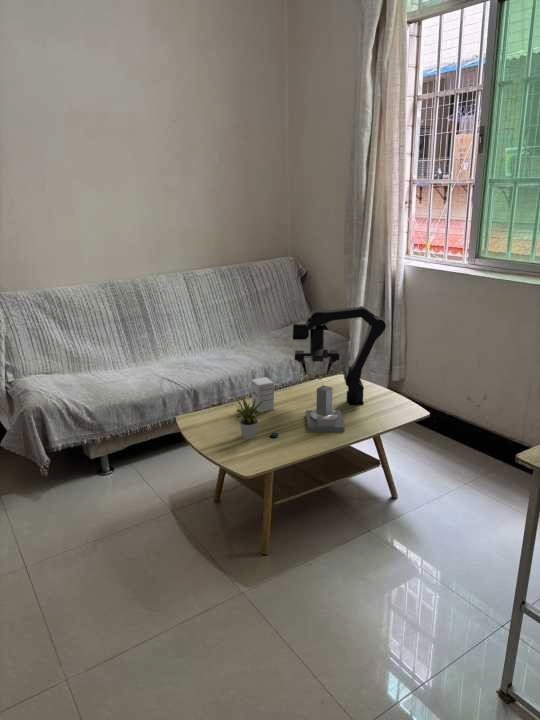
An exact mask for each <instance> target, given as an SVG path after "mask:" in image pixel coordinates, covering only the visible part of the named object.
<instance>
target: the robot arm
mask: <svg viewBox="0 0 540 720" xmlns="http://www.w3.org/2000/svg"><path fill="white" fill-rule="evenodd" d="M357 318H361V319H363V321H365V323H367V324H368V326H367V332H366V335H365V337H364V340H363V342H362V344H361V347H360V348H359V351H358V352H357V355H356V357H355V359H354V361H353V363H352V364H351V365H350V366H349V365H347V366H346V369H345V371H344V372H343V380H344V383H345V385H346V387H347V391H346V402H347V403H348V405H349V406H350V405H354V406H355V405H364V390H365V389H364V388H365V387H364V385H363V382H362V380H361V375H362V370H363V368H364V366H365V363H366V362H367V360H368V358H369V355H370V353H371V351H372V349H373V347H374V345H375V343H376V341H377V340H378V339H379V338H380V336H382V334H383V333H384V332H385V330H386V327H387V325H386V322H385V321H384V319H383V318H382V317H381V316H380V315H375V314H374V313H372V311H369V310H368V309H367V308H366V307H365V306H363V305H362V306H361V305H360V306H355V307H349V308H347V307H346V308H340V309H327V308H326V309H325V308H315V309H312V311H311V312H310V314H309V317H308V319H307V320H306V321H305V323H293V324H292V341H306V340H307V339H308V338H309V352H305V351H304V350H295V351H294V361H297V362H298V363H300V365H301V366H302V369H303V371H304V372H303V373H304V374H305V375H304V376H306V375H307V368H306V359H307V358H311V362H315V363H316V362H320V363H322V362H324V360H325V359H327V364H326V375H329V372H330V370H331V367H332V365H333V364H334V363H336V362H337V361H340V352H339V350H337V349H336V350H335V349H330V350H329V349H325V347H324V345H325V344H324V342H325V341H324V339H325V331H329V330H330V329H329V326H328V325H327V324H329V323H330V322H333V321H340V320H341V321H342V320H351V319H357ZM305 358H306V359H305Z"/></svg>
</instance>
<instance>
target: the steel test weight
mask: <svg viewBox="0 0 540 720" xmlns="http://www.w3.org/2000/svg"><path fill="white" fill-rule="evenodd" d="M333 388H334V387H331V386H328V385H324V384H323V385H321V386H319V387H316V408H315V409H316V414H318V415H321V416H328V415H330V414H331V413H332V409H333V390H334V389H333Z"/></svg>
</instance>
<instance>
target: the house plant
mask: <svg viewBox="0 0 540 720" xmlns="http://www.w3.org/2000/svg"><path fill="white" fill-rule="evenodd" d="M232 398H233V399H235V400H236V401H237V403H238V404H234V403H231V404H230V406H236V407H237V409H236V410H235V412H236V413H238V414H240V415H237V414H235V416H236V417H235V420H238V419H240V420H239V425H240V431H241V435H242V438H243V439H245V440H252V439H255V438H256V437H257V430H258V426H259V425H258V424H259V420H258V419H257V417H258V416H259V415H261V414H262V412H261V411H257V410H256V409H257V408H258V407H259V406H260V404H261V403H262V402H264V401H265V400H264V401H262V402H260V403H259V404H258V405H257V406H256V407H255V408H254V405H255V401H256V398H255V401H254V403H253V406H252V405H251V406H250V404H251V403H247V401H246V400H245V398H244V397H243V396H241V399H242V402H243V406H244V407H243V406H242V404H241V402H240V400H239V399H238V398H236V397H234V396H232ZM250 398H251V399H252V396H250V397H249V400H248V401H251V399H250ZM259 412H260V413H259ZM242 417H243V418H242Z"/></svg>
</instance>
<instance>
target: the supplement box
mask: <svg viewBox="0 0 540 720" xmlns="http://www.w3.org/2000/svg"><path fill="white" fill-rule="evenodd" d="M274 389H275V386H274V381H272V380H271V379H270V378H268V377H267V376H265V377H259V378H253V379H251V406H253V403H254V401H255V398H256V401H255V405H254V408H255V407H256V406H257V405H258V404H259V403H260V402H262V401H264V400H265V401H264V402H262V403H261V404H260V406H259V407H258V408H257V409H256V410H255V411H261V412H260V413H264V411H265V412H269V410H270V411H274V410H275V390H274Z"/></svg>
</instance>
